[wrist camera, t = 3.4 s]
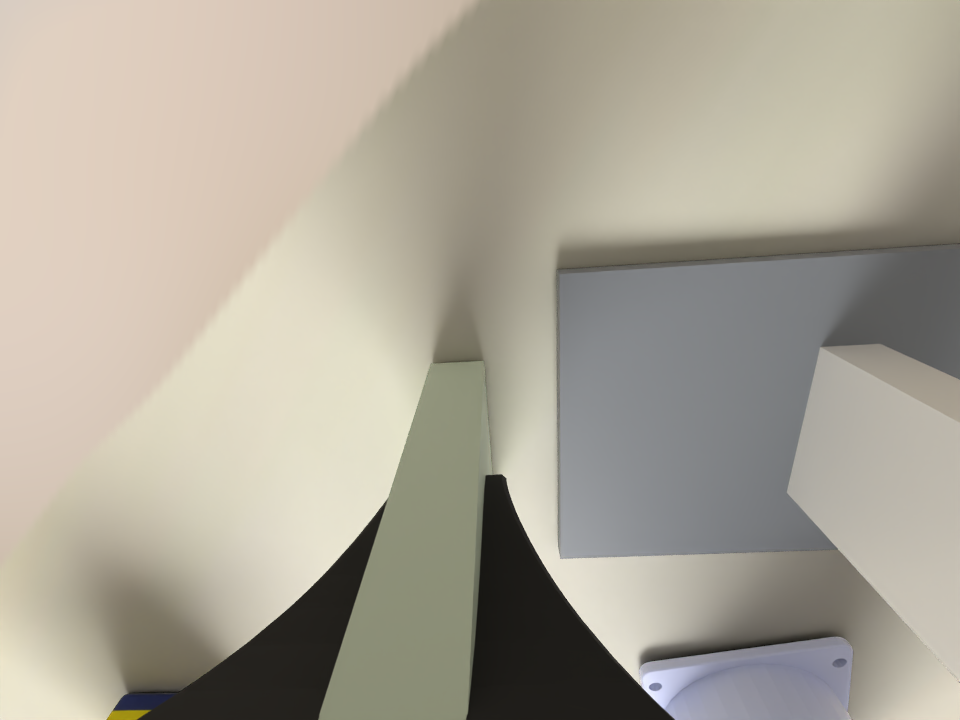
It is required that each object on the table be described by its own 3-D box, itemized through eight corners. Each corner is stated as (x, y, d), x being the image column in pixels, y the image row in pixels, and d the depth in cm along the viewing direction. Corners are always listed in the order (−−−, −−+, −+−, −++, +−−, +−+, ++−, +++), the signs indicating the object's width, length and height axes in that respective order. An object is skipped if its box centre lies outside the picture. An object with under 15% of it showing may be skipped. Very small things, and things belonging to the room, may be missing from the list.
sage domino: (484, 360, 14) (465, 757, 4) (494, 495, 16) (496, 969, 6) (431, 363, 14) (305, 759, 5) (447, 497, 16) (382, 967, 6)
